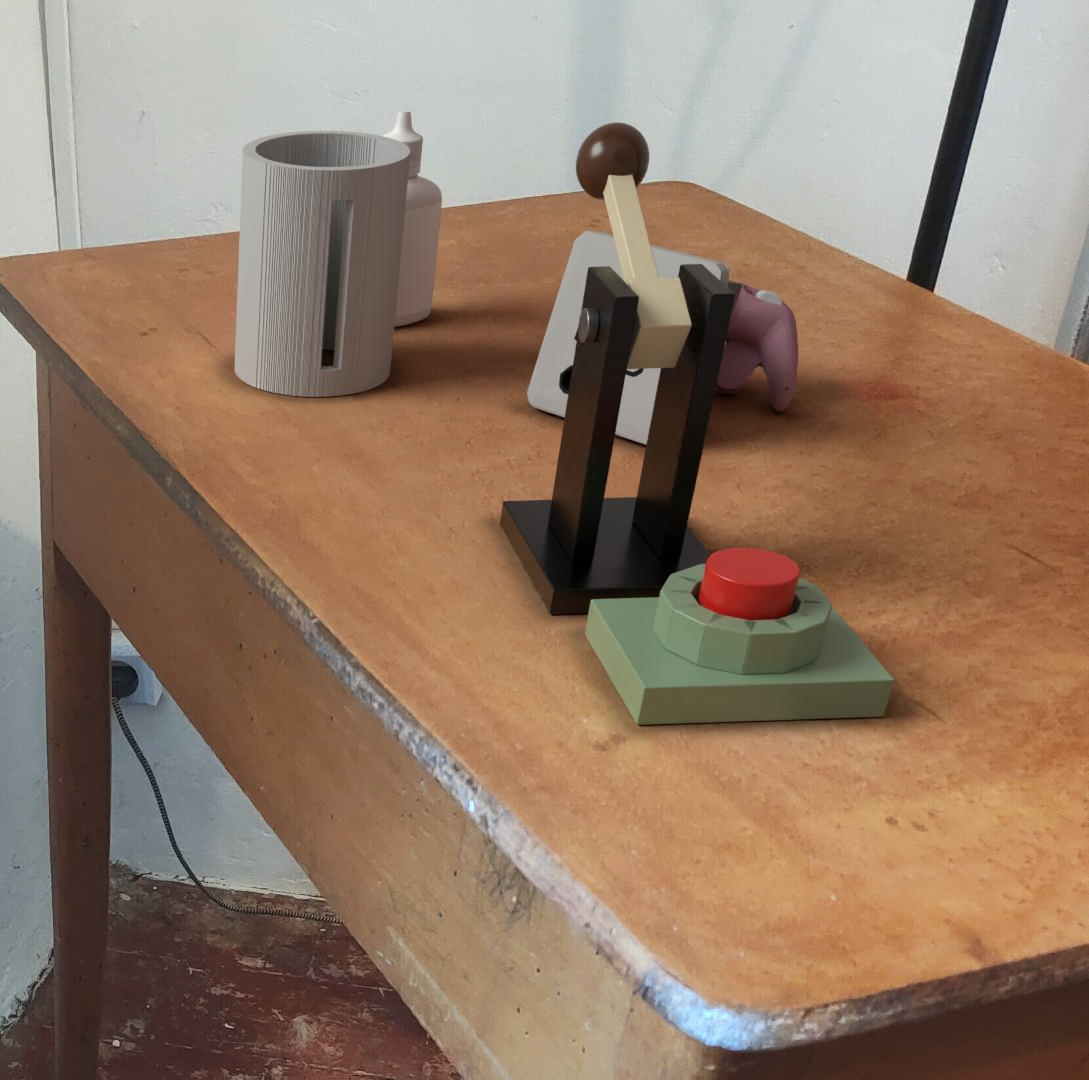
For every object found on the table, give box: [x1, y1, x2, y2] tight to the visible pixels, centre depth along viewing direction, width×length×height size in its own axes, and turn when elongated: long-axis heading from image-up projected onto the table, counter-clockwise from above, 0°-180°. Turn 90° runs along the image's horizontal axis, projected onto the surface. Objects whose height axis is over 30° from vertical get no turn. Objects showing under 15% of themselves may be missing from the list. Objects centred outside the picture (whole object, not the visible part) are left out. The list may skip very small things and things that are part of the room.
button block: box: [584, 564, 895, 726], centre depth 72 cm, size 10×8×4 cm
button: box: [699, 547, 801, 620], centre depth 70 cm, size 4×4×2 cm
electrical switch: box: [526, 230, 743, 446], centre depth 94 cm, size 9×5×9 cm, turn 39°
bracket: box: [499, 264, 735, 615], centre depth 78 cm, size 10×8×13 cm
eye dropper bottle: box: [382, 109, 443, 328], centre depth 107 cm, size 4×6×12 cm
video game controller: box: [715, 281, 799, 412], centre depth 98 cm, size 10×5×7 cm, turn 79°
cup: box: [234, 130, 411, 398], centre depth 99 cm, size 9×9×12 cm
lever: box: [575, 122, 692, 369], centre depth 77 cm, size 13×3×3 cm, turn 2°
